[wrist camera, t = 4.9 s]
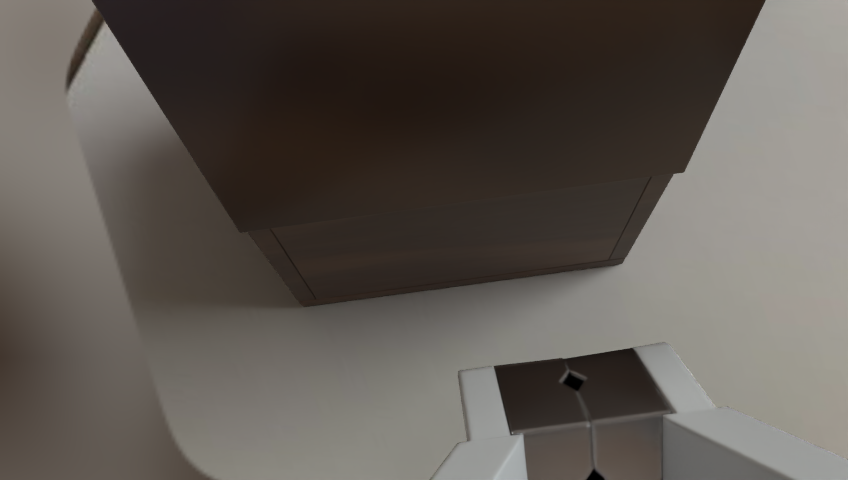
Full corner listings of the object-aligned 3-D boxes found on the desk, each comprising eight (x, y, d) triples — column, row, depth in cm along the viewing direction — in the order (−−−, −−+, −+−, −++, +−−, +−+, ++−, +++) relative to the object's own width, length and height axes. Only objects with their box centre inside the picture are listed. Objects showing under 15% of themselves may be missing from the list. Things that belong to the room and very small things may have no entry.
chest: (291, 95, 36) (239, -33, 28) (570, 57, 36) (599, -83, 27) (302, 307, 31) (244, 228, 23) (622, 264, 31) (677, 169, 23)
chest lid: (30, -133, 12) (22, -105, 12) (853, -249, 12) (872, -224, 12) (240, 212, 23) (239, 233, 22) (677, 153, 23) (684, 172, 22)
